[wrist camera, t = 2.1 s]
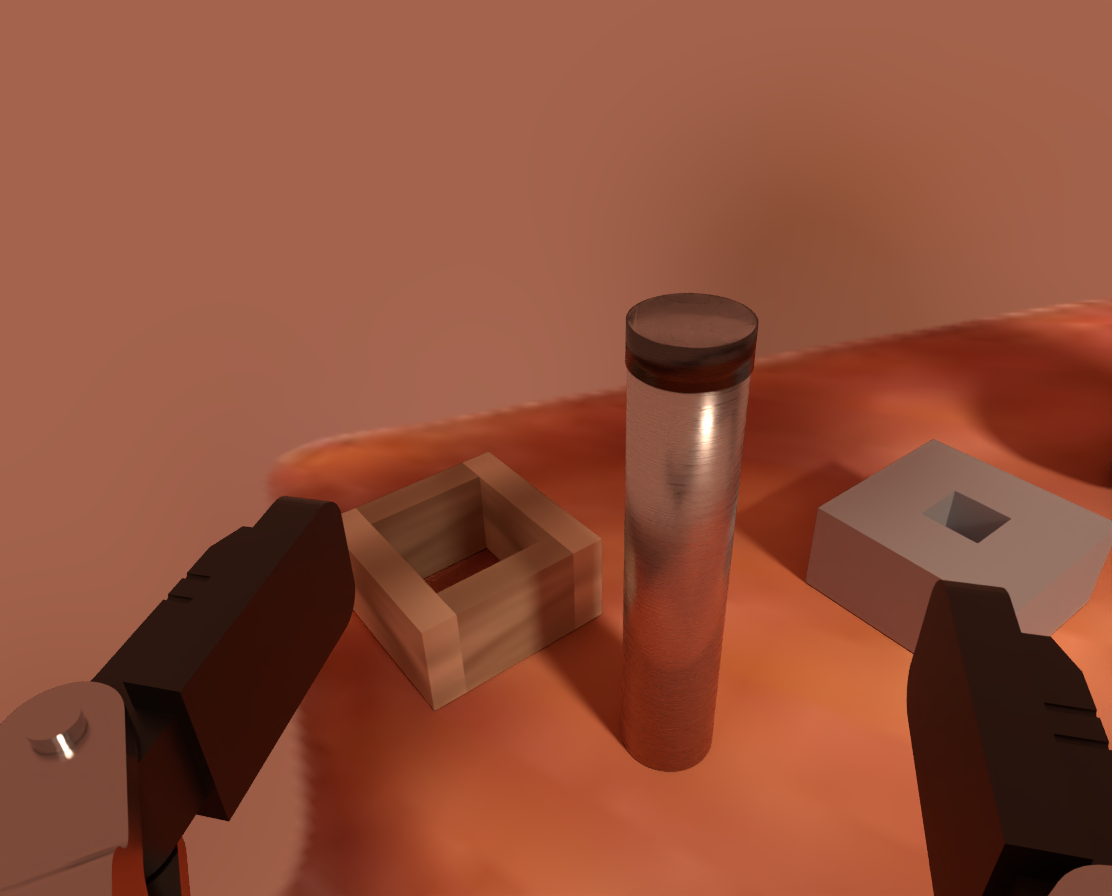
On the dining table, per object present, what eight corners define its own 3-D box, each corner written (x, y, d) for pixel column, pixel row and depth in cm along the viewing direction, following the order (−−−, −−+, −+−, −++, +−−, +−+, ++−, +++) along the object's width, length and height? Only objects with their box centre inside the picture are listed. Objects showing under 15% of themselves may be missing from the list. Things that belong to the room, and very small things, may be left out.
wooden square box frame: (601, 613, 35) (601, 538, 33) (434, 711, 31) (421, 633, 29) (494, 521, 41) (488, 451, 39) (340, 594, 37) (323, 521, 35)
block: (1088, 601, 35) (1120, 524, 33) (980, 697, 31) (1009, 618, 29) (915, 509, 40) (933, 438, 38) (805, 582, 36) (818, 507, 34)
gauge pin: (733, 739, 30) (786, 322, 21) (664, 790, 28) (691, 361, 20) (668, 682, 32) (692, 283, 23) (600, 726, 31) (599, 316, 22)
